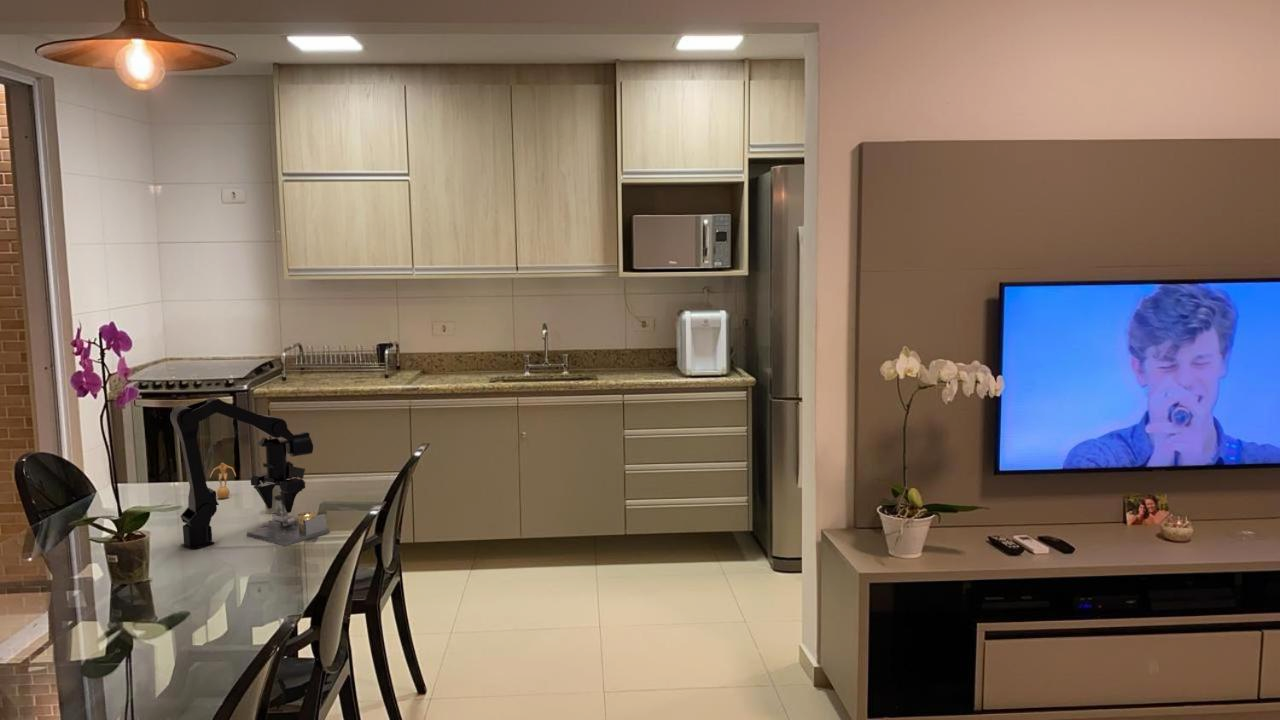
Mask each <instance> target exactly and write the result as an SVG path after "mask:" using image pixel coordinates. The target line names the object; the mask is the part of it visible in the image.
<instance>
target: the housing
mask: <svg viewBox="0 0 1280 720" xmlns="http://www.w3.org/2000/svg"><path fill="white" fill-rule="evenodd" d="M315 516H317V512H316V511H314V510H313V511H312V510H311V511H309V510H308V511H303V512H299V513H298V515H297V518H298V522H299V532H301V533H304V530H303V520H304V519H308V518H311V517H315Z"/></svg>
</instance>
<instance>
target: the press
mask: <svg viewBox="0 0 1280 720" xmlns="http://www.w3.org/2000/svg"><path fill="white" fill-rule="evenodd" d="M294 517H295V518H296V523H295V524H294V525H287V526H283V527H282V526H281V523H279V522H275V521H272V519H271V520H268V521H267V524H268V526H264V527H262V528H258V529H254V530H251V531H246V537H248V538H252V537H253V538H252V539H256V538H257V539H256V540H260V539H261V540H260V541H264V540H265V541H264V542H268V541H269V542H268V543H272V542H273V544H277V545H281V546H290V545H293V544H296V543H299V542H303V541H306V540H310V539H313V538H316V537H320V536H322V535H326V534H329V533H330V532H331V530H330V527H329V528H328V527H327V515H326V514H324V513H323V514H319V515H316V516H315V517H311V518H308V519H304V520H303V530H304V533H301V532H299V522H298V517H296V516H294Z"/></svg>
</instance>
